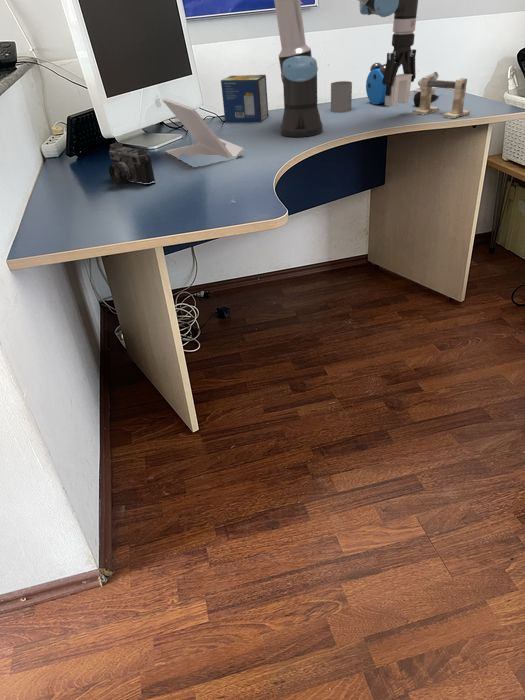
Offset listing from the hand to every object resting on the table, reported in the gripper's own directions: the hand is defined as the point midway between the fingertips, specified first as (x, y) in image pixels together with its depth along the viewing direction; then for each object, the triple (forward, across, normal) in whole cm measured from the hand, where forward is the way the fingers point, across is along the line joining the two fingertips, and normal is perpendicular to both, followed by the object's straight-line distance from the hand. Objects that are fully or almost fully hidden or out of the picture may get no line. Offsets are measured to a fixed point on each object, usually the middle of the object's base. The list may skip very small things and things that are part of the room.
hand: (396, 103), depth 196 cm
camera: (+8, -107, +14) cm, 108 cm away
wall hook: (+4, +38, +14) cm, 40 cm away
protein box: (+7, -33, +48) cm, 59 cm away
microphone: (+5, +27, +4) cm, 27 cm away
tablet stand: (+7, -75, +20) cm, 78 cm away
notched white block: (0, 0, 0) cm, 0 cm away
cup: (+5, -1, +26) cm, 27 cm away
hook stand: (+4, +12, -12) cm, 17 cm away
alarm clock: (+5, +16, +20) cm, 26 cm away
